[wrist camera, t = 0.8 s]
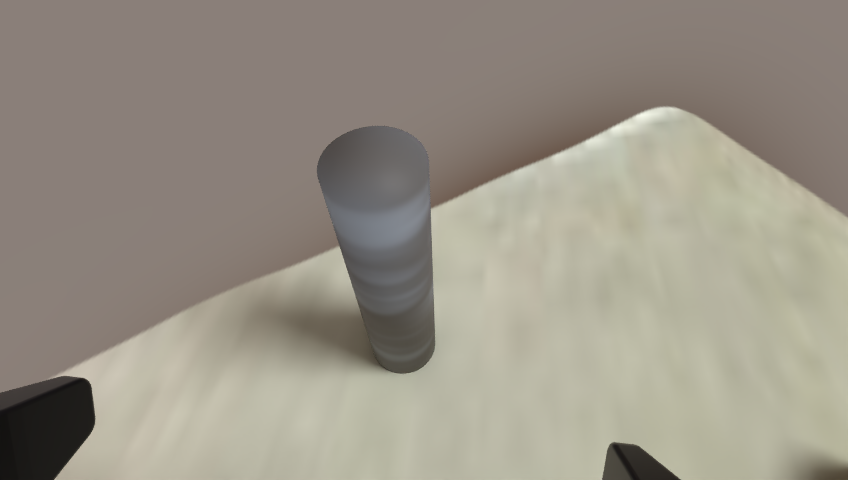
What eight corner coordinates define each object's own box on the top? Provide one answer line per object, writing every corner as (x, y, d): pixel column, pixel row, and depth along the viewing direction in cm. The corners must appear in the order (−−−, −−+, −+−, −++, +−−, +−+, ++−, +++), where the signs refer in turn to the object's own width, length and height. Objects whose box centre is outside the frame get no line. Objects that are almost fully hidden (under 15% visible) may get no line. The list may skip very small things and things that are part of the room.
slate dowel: (416, 384, 23) (392, 224, 12) (360, 355, 24) (294, 182, 13) (445, 330, 24) (448, 146, 14) (392, 304, 25) (356, 114, 15)
